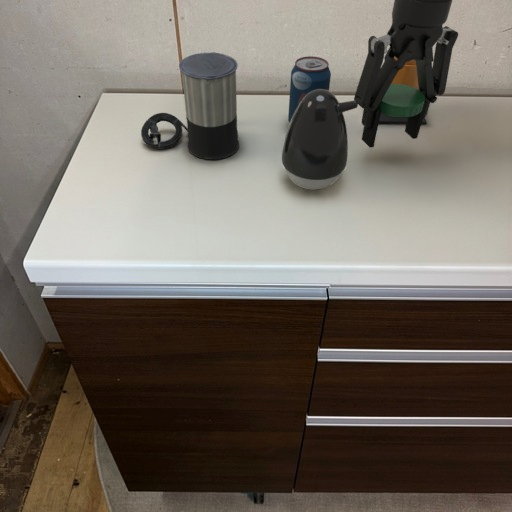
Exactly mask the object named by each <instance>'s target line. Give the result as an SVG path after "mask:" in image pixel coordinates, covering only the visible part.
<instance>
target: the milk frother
mask: <svg viewBox="0 0 512 512" xmlns="http://www.w3.org/2000/svg"><path fill="white" fill-rule="evenodd" d="M238 65H239V64H238V62H237V60H236V59H235V58H234V57H232V56H230V55H229V54H228V55H227V54H224V53H219V52H215V51H213V52H200V53H199V52H198V53H194V54H191V55H188V56H186V57H184V58H183V59H181V60H180V62H179V63H178V68H179V70H180V72H181V78H182V86H183V87H182V89H183V96H184V105H185V114H186V115H185V116H186V125H187V126H186V125H185V124H184V123H183V122H182V121H181V120H180V119H179V118H178V117H176V116H175V115H173V114H171V113H168V112H159V113H155V114H153V115H151V116H150V117H148V118H147V119H146V120H145V122H144V123H143V125H142V127H141V130H140V135H141V139H142V141H143V142H144V144H146V145H147V146H148V147H151V148H153V149H167V148H168V149H169V148H171V147H173V146H175V145H177V144H178V143H179V142H180V140H181V138H182V135H183V129H184V130H185V131H186V132H187V139H188V140H187V150H188V151H189V153H191V155H193V156H195V157H197V158H199V159H203V160H222V159H225V158H228V157H230V156H233V155H234V154H235V153H236V152H237V151H238V149H239V148H240V141H239V132H238V131H239V130H238V113H237V112H238V108H237V107H238V106H237V105H238V103H237V99H238V98H237V69H238ZM160 122H167V123H170V124H171V125H172V126H173V127H174V129H175V133H174V134H173V136H171V138H169V139H167V140H163V141H162V134H161V133H160V132H159V126H158V123H160ZM149 132H150V133H149Z"/></svg>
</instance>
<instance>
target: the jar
mask: <svg viewBox="0 0 512 512" xmlns="http://www.w3.org/2000/svg"><path fill="white" fill-rule="evenodd" d="M394 58H395V59H396V60H398V58H396V57H395V56H394ZM391 84H402V85H407V86H411V87H414V88H416V89H418V90H419V86H418V77H417V68H416V60H411V61H408V62H406V63H405V65H404V67H403V68H402V69H400V70H399V71H398V73H397V74H396V76H395V78H394V80H393V81H392V83H391ZM385 115H386V114H385ZM388 116H390V115H388ZM392 117H394V116H392Z"/></svg>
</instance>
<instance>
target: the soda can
mask: <svg viewBox="0 0 512 512" xmlns="http://www.w3.org/2000/svg"><path fill="white" fill-rule="evenodd" d="M331 77H332V73H331V70H330V67H329V62H328V61H327V60H326V59H325V58H323V57H319V56H309V55H307V56H302V57H299V58H297V59H296V60H295V62H294V65H293V67H292V69H291V71H290V83H289V85H290V86H289V102H288V115H287V120H288V124H290V121H291V119H292V117H293V115H294V112H295V111H296V109H297V107H298V105H299V103H300V102H301V100H302V99H303V98H304V97H305V95H306V94H308V93H309V92H310V91H312V90H315V89H325V90H328V91H330V87H331V86H330V85H331Z"/></svg>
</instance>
